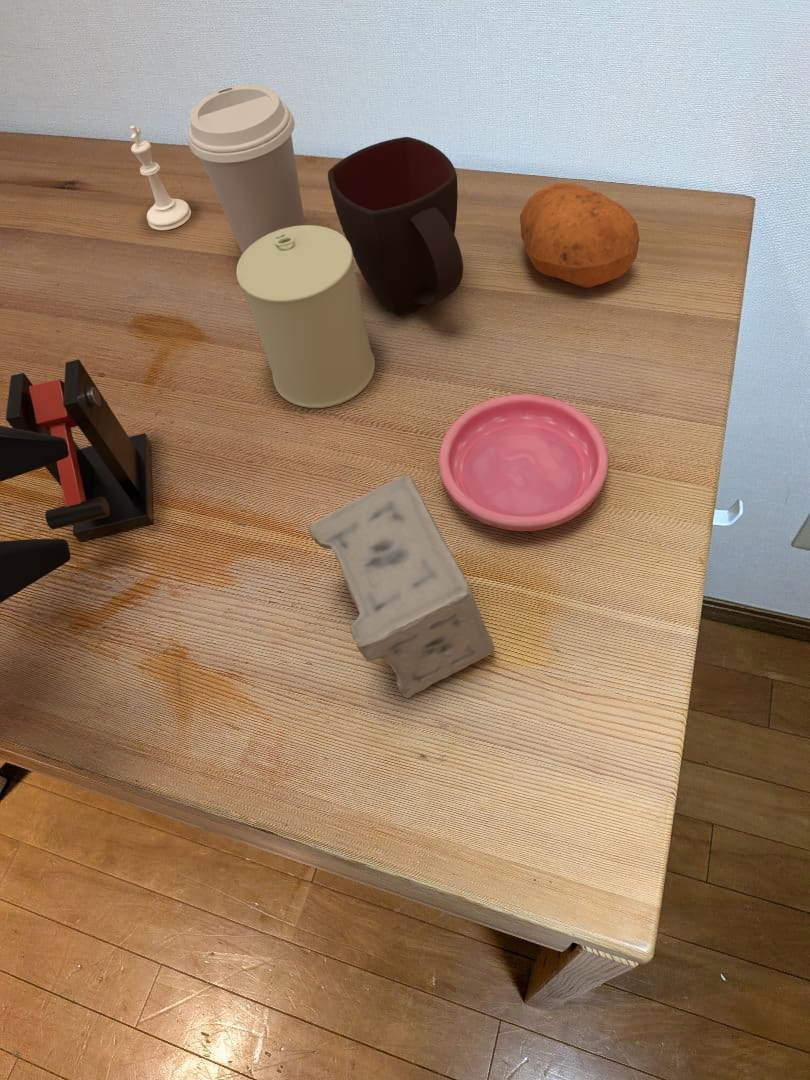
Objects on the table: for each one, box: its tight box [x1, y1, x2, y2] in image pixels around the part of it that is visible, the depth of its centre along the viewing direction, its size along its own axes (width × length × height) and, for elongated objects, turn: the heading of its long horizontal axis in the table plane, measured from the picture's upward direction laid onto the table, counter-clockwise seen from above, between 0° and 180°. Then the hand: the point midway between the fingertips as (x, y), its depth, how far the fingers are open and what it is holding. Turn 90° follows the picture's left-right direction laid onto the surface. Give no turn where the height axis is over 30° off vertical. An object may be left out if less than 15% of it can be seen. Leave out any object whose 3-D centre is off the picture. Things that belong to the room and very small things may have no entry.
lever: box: [29, 378, 110, 531], centre depth 53 cm, size 10×4×2 cm, turn 13°
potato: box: [519, 182, 640, 288], centre depth 67 cm, size 9×11×8 cm
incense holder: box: [308, 474, 496, 699], centre depth 47 cm, size 10×8×10 cm
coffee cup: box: [187, 84, 306, 254], centre depth 70 cm, size 10×10×15 cm
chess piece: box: [129, 125, 192, 231], centre depth 79 cm, size 5×5×10 cm
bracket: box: [5, 358, 154, 542], centre depth 57 cm, size 9×6×12 cm, turn 12°
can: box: [235, 224, 376, 409], centre depth 61 cm, size 9×9×12 cm
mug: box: [327, 136, 464, 316], centre depth 65 cm, size 10×14×12 cm
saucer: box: [438, 393, 609, 532], centre depth 56 cm, size 12×12×3 cm
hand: (68, 494), depth 38 cm, fingers open, 9 cm apart
